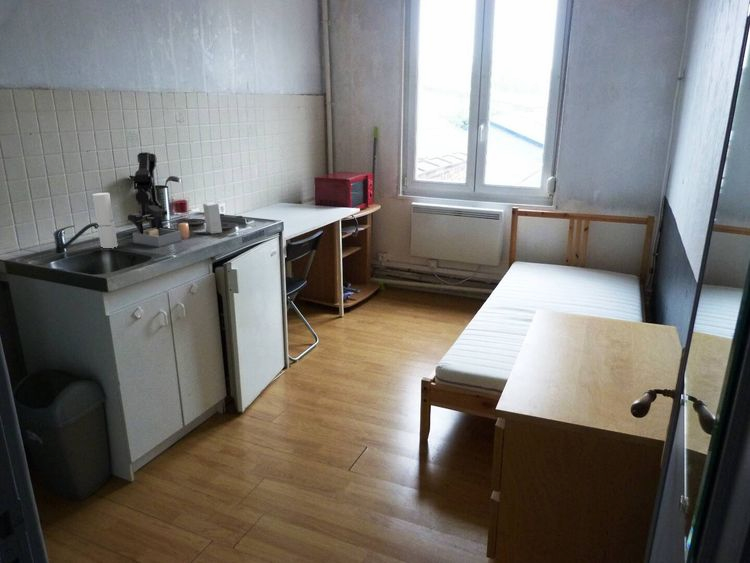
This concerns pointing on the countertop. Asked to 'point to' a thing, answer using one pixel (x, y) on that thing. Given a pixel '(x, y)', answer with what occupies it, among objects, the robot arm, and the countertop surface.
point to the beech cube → (151, 232)
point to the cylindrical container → (105, 220)
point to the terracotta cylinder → (184, 230)
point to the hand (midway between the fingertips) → (150, 232)
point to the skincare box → (212, 218)
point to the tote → (158, 238)
